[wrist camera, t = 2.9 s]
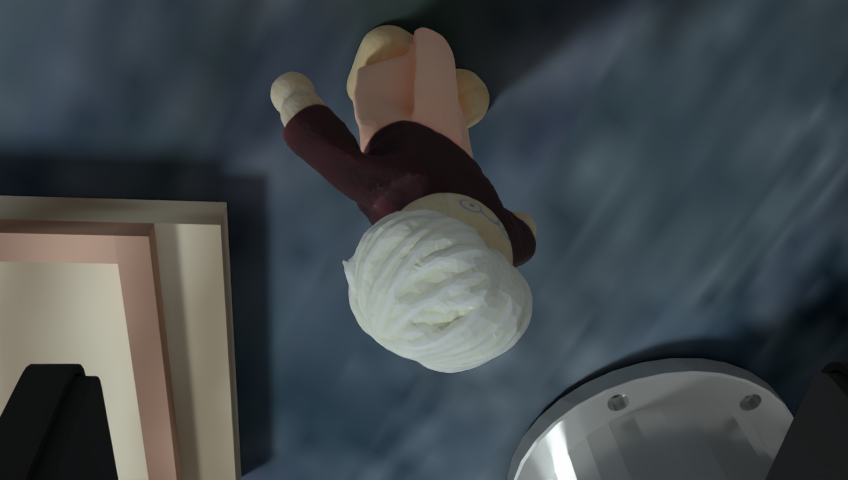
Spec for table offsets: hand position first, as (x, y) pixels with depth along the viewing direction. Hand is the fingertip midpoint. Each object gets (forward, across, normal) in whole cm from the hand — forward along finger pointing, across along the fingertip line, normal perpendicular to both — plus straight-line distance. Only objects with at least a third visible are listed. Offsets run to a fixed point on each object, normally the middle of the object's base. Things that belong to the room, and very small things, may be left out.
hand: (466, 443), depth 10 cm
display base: (+15, +12, +12) cm, 23 cm away
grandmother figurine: (+16, 0, +1) cm, 16 cm away
